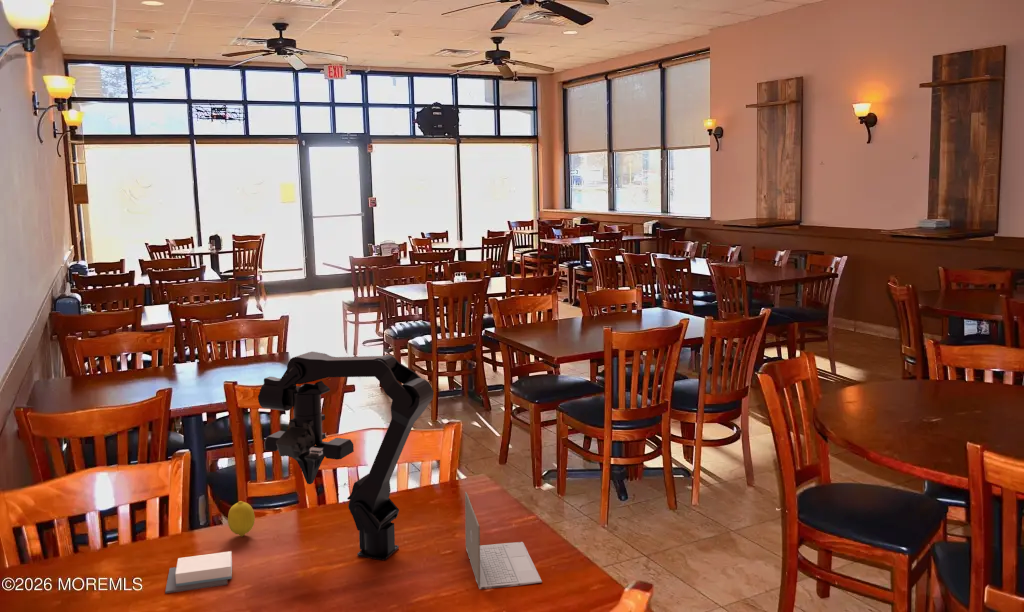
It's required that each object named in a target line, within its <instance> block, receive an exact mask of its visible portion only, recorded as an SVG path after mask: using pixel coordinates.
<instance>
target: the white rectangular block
mask: <svg viewBox="0 0 1024 612" xmlns="http://www.w3.org/2000/svg"><path fill="white" fill-rule="evenodd" d="M232 554H233V553H232V550H230V551H229V550H228V551H222V552H215V553H214V552H213V553H209V554H201V555H193V556H185V557H178V558H177V562H176V567H177V568H176V574H175V575H176V586H182V585H190V584H197V583H204V582H211V581H218V580H225V579H227V580H231V579H233V577H232V575H233V573H232V572H233V557H232V556H233V555H232Z"/></svg>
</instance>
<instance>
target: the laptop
mask: <svg viewBox="0 0 1024 612" xmlns="http://www.w3.org/2000/svg"><path fill="white" fill-rule="evenodd" d="M464 497H465V498H464V501H465V502H464V503H465V505H464V508H465V510H464V511H465V512H464V514H465V516H464V517H465V520H464V521H465V529H464V530H465V549H466V552H467V555H468V556H467V557H468V558H469V559H470V560H469V562H470V566H471V568H472V572H473V574H474V575H473V576H474V577H475V581H476V582H475V583H476V584H477V587H478V590H484V589H485V590H486V589H487V590H488V589H494V587H498V588H508V587H516V586H517V587H518V586H525V585H533V584H540V583H543V580H542V579H541V576H540V574H539V572H538V569H537V568H536V566H535V563H534V562H533V560H532V558H531V556H530V554H529V552H528V549H527V547H526V545H525V543H524V542H523V541H516V542H505V543H495V544H493V543H492V544H483V545H481V541H480V540H481V532H480V530H481V528H480V523H479V521H478V518H477V515H476V512H475V510H474V508H473V506H472V502H471V500H470V497H469V494H468V493H467V491H465V492H464Z"/></svg>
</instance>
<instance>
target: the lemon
mask: <svg viewBox="0 0 1024 612" xmlns="http://www.w3.org/2000/svg"><path fill="white" fill-rule="evenodd" d="M255 517H256V516H255V512H254V509H253V507H252V506H251V504H249V503H248V502H245V501H242V500H240V501H238V502H236V503H234V504H233V505H232V506H231V507H230V509H229V510H228V515H227V524H228V527H229V529H230V531H231V532H232V533H233V534H235V535H238V536H240V537H244V536H245V535H246V534H248V533H249V532H251V530H252V529H253V527H254V525H255V520H256V518H255Z"/></svg>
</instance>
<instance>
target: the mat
mask: <svg viewBox="0 0 1024 612" xmlns="http://www.w3.org/2000/svg"><path fill="white" fill-rule="evenodd" d="M176 568H177V566H176V567H175V566H174V567H169V571H168V576H167V581H166V586H165V593H164V594H171V593H178V592H184V591H185V592H187V591H193V590H199V589H206V588H213V587H214V588H215V587H221V586H227V585H228V579H225V580H218V581H211V582H204V583H197V584H190V585H182V586H176V575H175V574H176Z"/></svg>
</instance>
